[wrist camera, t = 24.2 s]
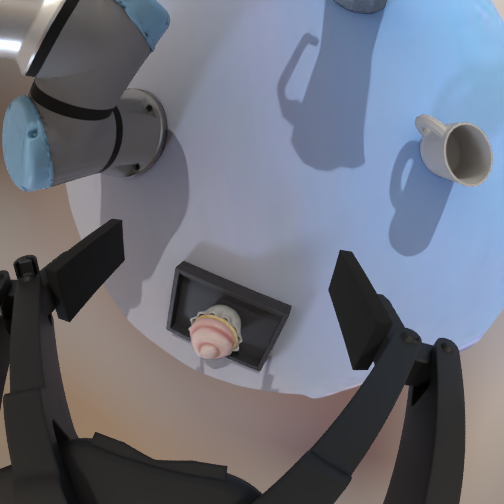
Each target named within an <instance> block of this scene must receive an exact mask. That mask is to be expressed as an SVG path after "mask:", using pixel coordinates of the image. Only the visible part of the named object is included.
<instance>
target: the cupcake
mask: <svg viewBox="0 0 504 504" xmlns="http://www.w3.org/2000/svg"><path fill="white" fill-rule="evenodd" d="M190 321H191V324H192V326H191V327H190V328H189V331H190V337H191V342H192V346H193V349H194V351H195V352H196V353H197V354H198V355H199V356H200V357H202V358H204V359H217V358H222V357H225V356H227V355H230V354H231V353H232V351H238V350H239V343H241V342H242V341H243V340H242V337H241V334H240V329H241V319H240V317H239V315H238V314H237V312H236V311H235V310H233V309H232V308H230V307H229V306H226V305H215V306H212V307H210V308H209V309H207V310H206V311H202V312H198V314H197V316H196V317H194V318H191V319H190Z"/></svg>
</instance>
